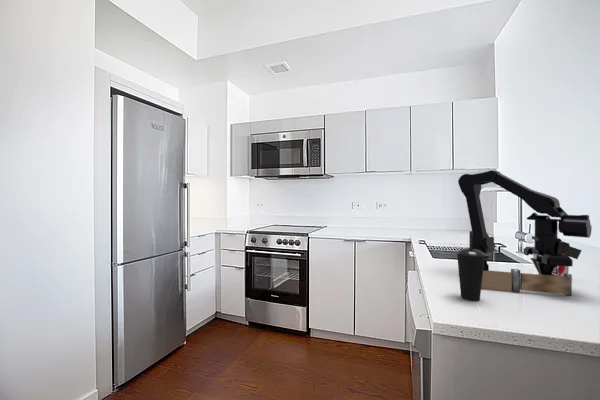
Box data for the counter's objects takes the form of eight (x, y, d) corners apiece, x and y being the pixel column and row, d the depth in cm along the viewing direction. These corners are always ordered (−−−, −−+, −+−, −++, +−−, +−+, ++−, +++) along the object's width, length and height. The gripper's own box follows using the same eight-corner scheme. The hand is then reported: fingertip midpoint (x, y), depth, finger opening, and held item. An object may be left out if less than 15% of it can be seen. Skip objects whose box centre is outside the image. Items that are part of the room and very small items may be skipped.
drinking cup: (481, 295, 88) (482, 230, 88) (488, 304, 81) (489, 233, 81) (453, 292, 90) (454, 229, 90) (458, 301, 83) (458, 232, 83)
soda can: (573, 280, 105) (573, 247, 105) (551, 279, 106) (551, 246, 106) (560, 275, 112) (560, 244, 112) (539, 274, 113) (539, 243, 113)
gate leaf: (521, 290, 91) (521, 273, 91) (520, 289, 92) (520, 272, 92) (569, 294, 87) (569, 277, 87) (567, 293, 88) (567, 276, 88)
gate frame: (478, 289, 94) (479, 267, 94) (475, 285, 98) (476, 265, 98) (577, 298, 86) (577, 275, 86) (569, 294, 89) (569, 271, 89)
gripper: (595, 239, 82) (595, 293, 82) (561, 232, 100) (561, 276, 100) (548, 237, 86) (547, 289, 86) (523, 230, 104) (522, 274, 104)
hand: (545, 281), depth 94 cm, fingers closed
